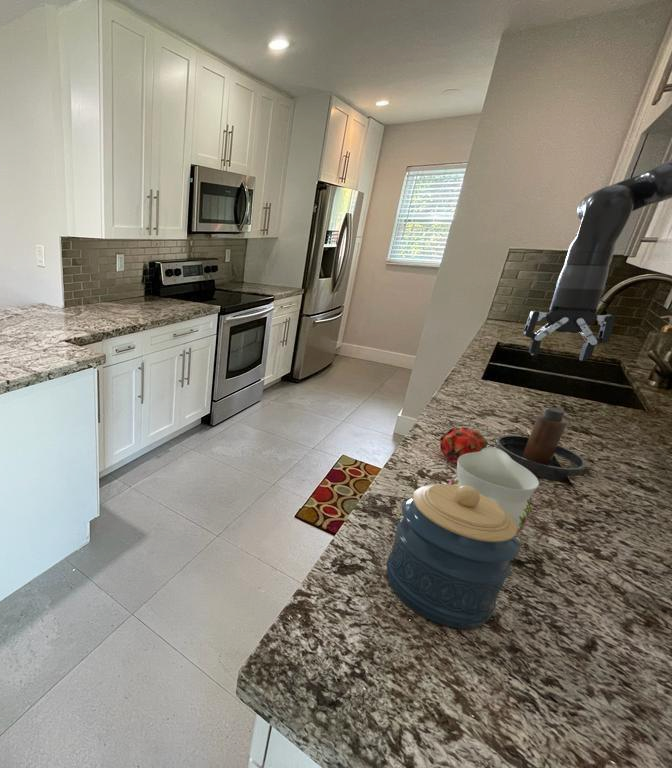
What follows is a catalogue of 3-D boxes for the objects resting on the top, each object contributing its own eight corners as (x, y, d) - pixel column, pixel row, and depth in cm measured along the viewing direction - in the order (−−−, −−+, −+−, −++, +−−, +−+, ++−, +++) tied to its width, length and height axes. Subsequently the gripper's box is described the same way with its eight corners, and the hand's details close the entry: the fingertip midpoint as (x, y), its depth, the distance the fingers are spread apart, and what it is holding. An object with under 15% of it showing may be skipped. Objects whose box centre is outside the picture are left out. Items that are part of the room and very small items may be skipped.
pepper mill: (545, 460, 93) (567, 408, 89) (551, 470, 90) (574, 416, 85) (519, 454, 96) (538, 403, 91) (523, 463, 92) (544, 411, 87)
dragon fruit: (470, 459, 97) (448, 482, 91) (442, 430, 100) (419, 450, 94) (503, 443, 91) (482, 467, 84) (472, 413, 94) (450, 434, 87)
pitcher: (430, 557, 65) (454, 484, 60) (437, 501, 79) (457, 438, 74) (519, 591, 59) (553, 513, 54) (509, 524, 73) (536, 457, 68)
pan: (568, 459, 95) (573, 445, 94) (590, 492, 83) (597, 477, 82) (487, 442, 103) (492, 429, 101) (497, 470, 90) (502, 456, 89)
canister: (514, 619, 55) (563, 510, 49) (440, 643, 51) (482, 530, 45) (429, 550, 66) (460, 456, 60) (364, 566, 63) (389, 467, 57)
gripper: (542, 286, 90) (522, 357, 95) (633, 288, 83) (606, 365, 88) (533, 284, 96) (514, 351, 101) (617, 286, 90) (593, 358, 95)
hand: (557, 357), depth 95 cm, fingers open, 8 cm apart
